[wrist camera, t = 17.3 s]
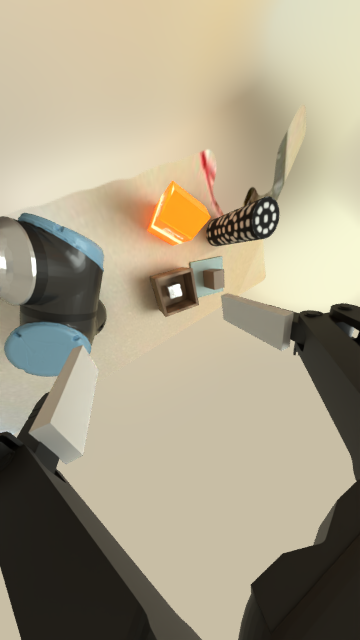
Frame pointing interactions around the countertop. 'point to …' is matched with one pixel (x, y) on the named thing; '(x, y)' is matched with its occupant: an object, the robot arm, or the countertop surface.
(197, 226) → the orange juice
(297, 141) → the countertop surface
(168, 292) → the metal cube
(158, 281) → the storage box
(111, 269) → the countertop surface
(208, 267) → the lid
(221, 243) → the white-spotted black cylinder
